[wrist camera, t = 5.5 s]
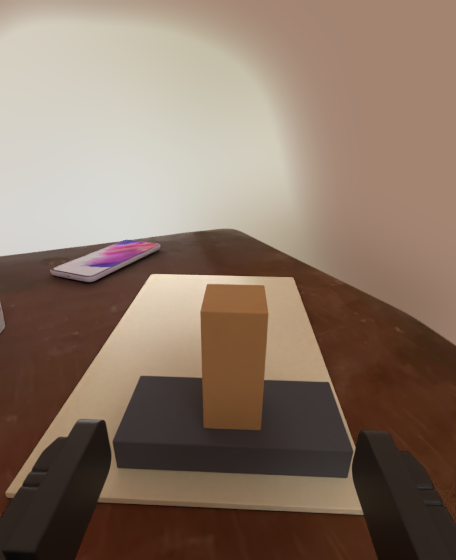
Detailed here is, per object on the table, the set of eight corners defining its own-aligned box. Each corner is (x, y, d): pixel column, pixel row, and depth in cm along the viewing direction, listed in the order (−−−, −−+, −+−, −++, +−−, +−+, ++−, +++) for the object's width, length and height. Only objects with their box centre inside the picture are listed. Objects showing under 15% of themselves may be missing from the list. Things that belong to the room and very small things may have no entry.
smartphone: (46, 269, 41) (125, 239, 54) (48, 276, 42) (126, 244, 54) (90, 278, 38) (162, 243, 51) (91, 284, 39) (163, 249, 51)
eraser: (325, 405, 21) (346, 279, 18) (348, 479, 17) (382, 328, 13) (143, 399, 22) (127, 274, 18) (116, 468, 17) (89, 320, 14)
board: (293, 280, 41) (293, 277, 41) (377, 515, 15) (379, 510, 15) (151, 276, 42) (151, 273, 42) (6, 498, 16) (4, 493, 16)
